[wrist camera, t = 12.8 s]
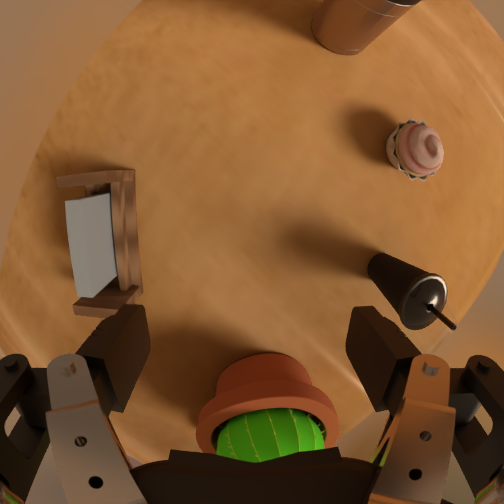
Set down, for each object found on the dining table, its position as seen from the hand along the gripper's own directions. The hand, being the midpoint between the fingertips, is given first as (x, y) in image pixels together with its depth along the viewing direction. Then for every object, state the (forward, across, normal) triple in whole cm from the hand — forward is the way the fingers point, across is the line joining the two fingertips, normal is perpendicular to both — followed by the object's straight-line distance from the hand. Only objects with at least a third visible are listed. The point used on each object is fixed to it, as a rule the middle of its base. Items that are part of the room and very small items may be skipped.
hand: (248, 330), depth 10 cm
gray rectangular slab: (+29, +20, +2) cm, 35 cm away
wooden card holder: (+30, +20, +3) cm, 36 cm away
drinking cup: (+30, -22, +8) cm, 38 cm away
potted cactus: (+30, -4, +32) cm, 44 cm away
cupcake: (+30, -24, -11) cm, 40 cm away
